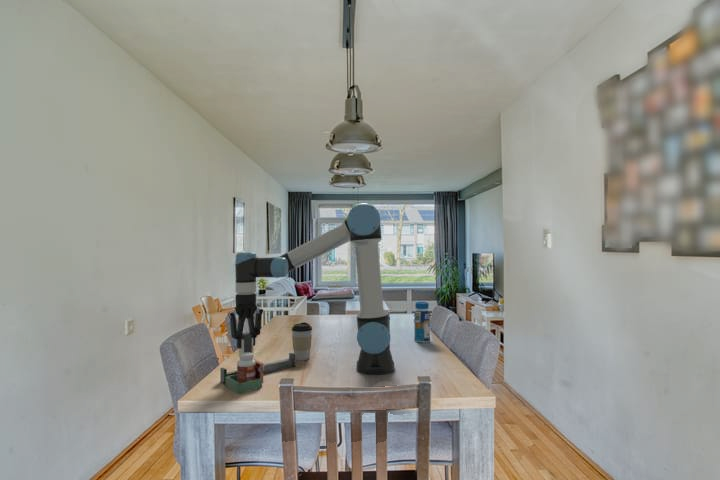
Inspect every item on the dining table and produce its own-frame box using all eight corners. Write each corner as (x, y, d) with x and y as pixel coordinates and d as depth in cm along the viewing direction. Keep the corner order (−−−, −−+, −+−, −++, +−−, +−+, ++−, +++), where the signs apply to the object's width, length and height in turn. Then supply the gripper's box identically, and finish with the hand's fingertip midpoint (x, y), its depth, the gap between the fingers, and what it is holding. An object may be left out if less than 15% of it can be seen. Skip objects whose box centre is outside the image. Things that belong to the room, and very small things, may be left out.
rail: (295, 366, 159) (295, 354, 159) (223, 384, 139) (223, 369, 139) (291, 364, 161) (291, 352, 161) (220, 381, 141) (220, 368, 141)
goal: (261, 387, 135) (261, 378, 135) (238, 393, 129) (238, 384, 129) (247, 379, 143) (247, 371, 143) (224, 385, 137) (225, 376, 137)
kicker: (269, 381, 139) (269, 337, 139) (253, 385, 135) (253, 340, 135) (251, 372, 149) (251, 331, 149) (236, 376, 145) (236, 334, 145)
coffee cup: (308, 361, 166) (308, 326, 166) (288, 360, 168) (288, 325, 168) (314, 355, 175) (314, 322, 175) (295, 354, 176) (295, 321, 177)
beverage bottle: (412, 339, 205) (411, 301, 205) (427, 338, 206) (427, 301, 206) (416, 343, 196) (416, 303, 197) (432, 342, 197) (432, 303, 198)
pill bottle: (248, 389, 133) (248, 357, 133) (233, 387, 135) (233, 355, 135) (259, 383, 139) (259, 352, 139) (244, 381, 141) (244, 351, 141)
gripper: (260, 290, 155) (260, 349, 154) (220, 294, 144) (221, 357, 143) (270, 292, 149) (270, 353, 149) (229, 296, 138) (229, 362, 138)
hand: (246, 355), depth 146 cm, fingers closed on kicker, 3 cm apart
